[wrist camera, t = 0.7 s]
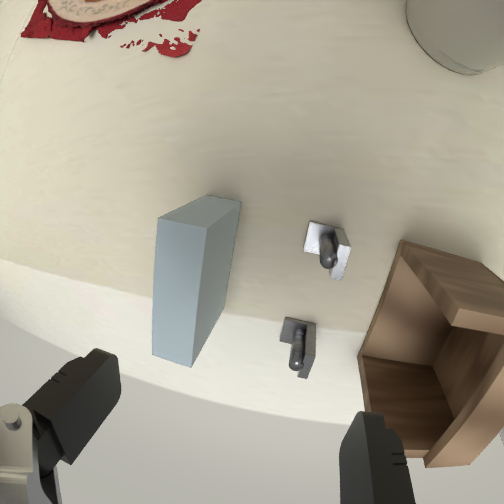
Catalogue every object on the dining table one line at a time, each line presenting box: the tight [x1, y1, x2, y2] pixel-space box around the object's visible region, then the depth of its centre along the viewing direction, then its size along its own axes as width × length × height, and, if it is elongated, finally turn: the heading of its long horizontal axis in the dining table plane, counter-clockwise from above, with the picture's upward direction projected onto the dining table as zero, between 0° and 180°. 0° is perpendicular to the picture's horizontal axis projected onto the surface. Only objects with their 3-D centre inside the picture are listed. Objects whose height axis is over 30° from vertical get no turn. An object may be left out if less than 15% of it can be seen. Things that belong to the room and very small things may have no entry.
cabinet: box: [357, 240, 504, 468], centre depth 19 cm, size 12×9×13 cm
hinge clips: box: [280, 221, 351, 379], centre depth 24 cm, size 11×3×5 cm, turn 170°
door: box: [152, 195, 242, 368], centre depth 23 cm, size 10×4×9 cm, turn 170°
